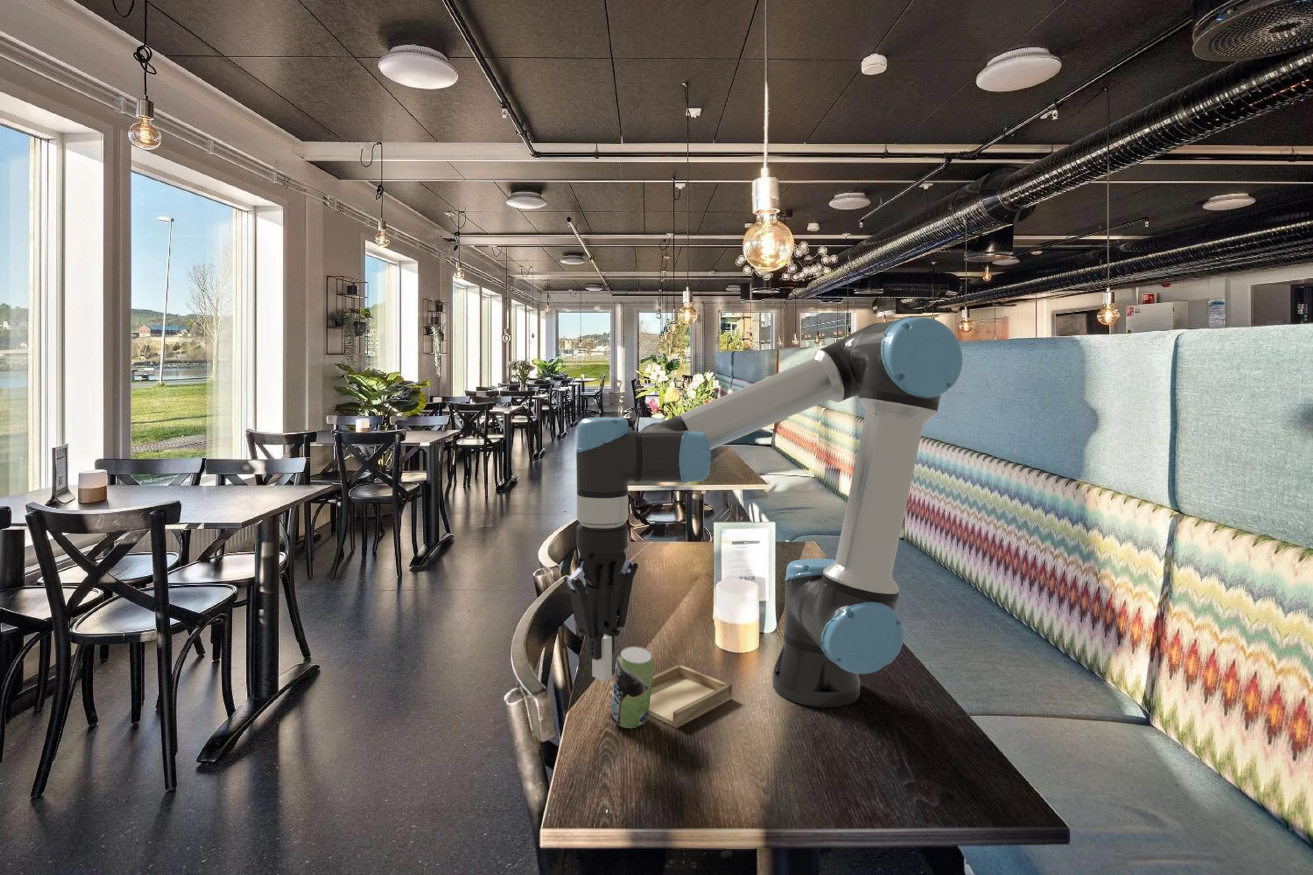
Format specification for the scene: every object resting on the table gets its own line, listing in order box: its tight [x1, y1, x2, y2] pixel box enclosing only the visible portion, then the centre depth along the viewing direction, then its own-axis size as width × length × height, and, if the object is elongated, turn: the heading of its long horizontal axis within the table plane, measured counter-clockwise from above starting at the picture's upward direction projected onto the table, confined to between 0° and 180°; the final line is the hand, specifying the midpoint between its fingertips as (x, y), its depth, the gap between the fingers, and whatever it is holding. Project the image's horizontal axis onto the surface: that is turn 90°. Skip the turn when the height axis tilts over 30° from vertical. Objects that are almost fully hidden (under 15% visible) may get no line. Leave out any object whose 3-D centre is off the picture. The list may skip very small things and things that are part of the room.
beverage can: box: [609, 645, 655, 729], centre depth 108 cm, size 6×7×12 cm
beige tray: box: [648, 664, 733, 729], centre depth 117 cm, size 12×14×2 cm
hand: (601, 677), depth 103 cm, fingers closed
